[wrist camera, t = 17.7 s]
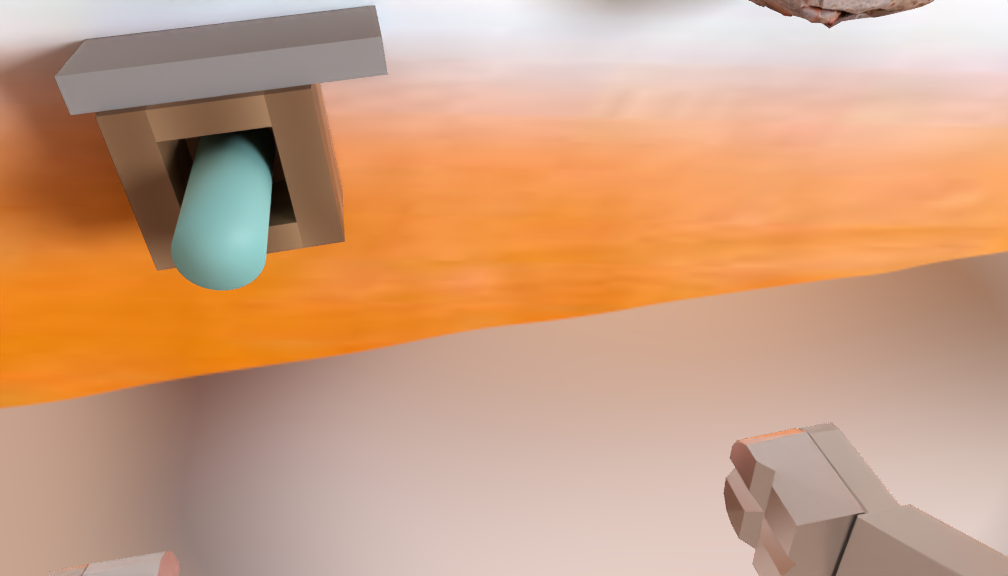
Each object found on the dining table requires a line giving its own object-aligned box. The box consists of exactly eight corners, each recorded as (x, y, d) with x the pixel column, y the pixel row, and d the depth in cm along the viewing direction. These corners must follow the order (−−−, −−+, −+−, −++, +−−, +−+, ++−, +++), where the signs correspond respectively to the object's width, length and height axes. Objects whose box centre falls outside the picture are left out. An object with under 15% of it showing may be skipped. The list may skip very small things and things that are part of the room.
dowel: (190, 117, 33) (157, 223, 26) (264, 106, 33) (252, 208, 26) (212, 182, 35) (187, 297, 28) (282, 171, 35) (276, 281, 28)
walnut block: (174, 214, 36) (157, 270, 32) (122, 72, 32) (95, 116, 28) (342, 190, 37) (344, 241, 33) (312, 49, 33) (311, 88, 29)
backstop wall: (98, 74, 32) (70, 115, 28) (84, 39, 31) (54, 76, 28) (380, 40, 34) (387, 74, 30) (374, 5, 33) (381, 36, 29)
